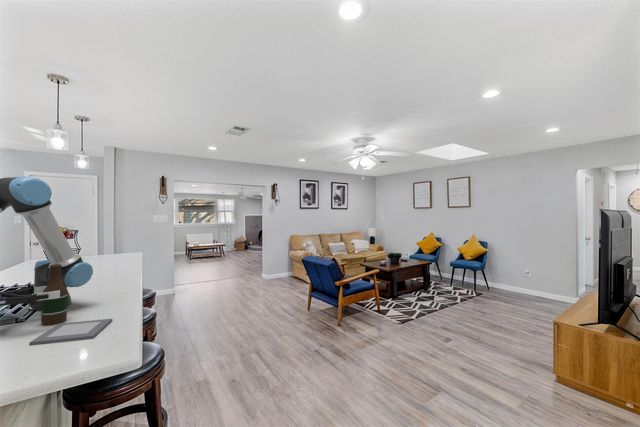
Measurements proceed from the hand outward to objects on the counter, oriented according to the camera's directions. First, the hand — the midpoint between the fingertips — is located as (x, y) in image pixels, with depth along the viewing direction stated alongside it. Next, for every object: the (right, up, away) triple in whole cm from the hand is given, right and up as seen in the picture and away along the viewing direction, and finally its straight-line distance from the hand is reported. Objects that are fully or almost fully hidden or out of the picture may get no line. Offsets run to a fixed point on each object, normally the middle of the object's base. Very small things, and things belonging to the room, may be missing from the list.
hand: (57, 290), depth 115 cm
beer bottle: (-1, -13, -1) cm, 13 cm away
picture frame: (+16, -13, -10) cm, 23 cm away
